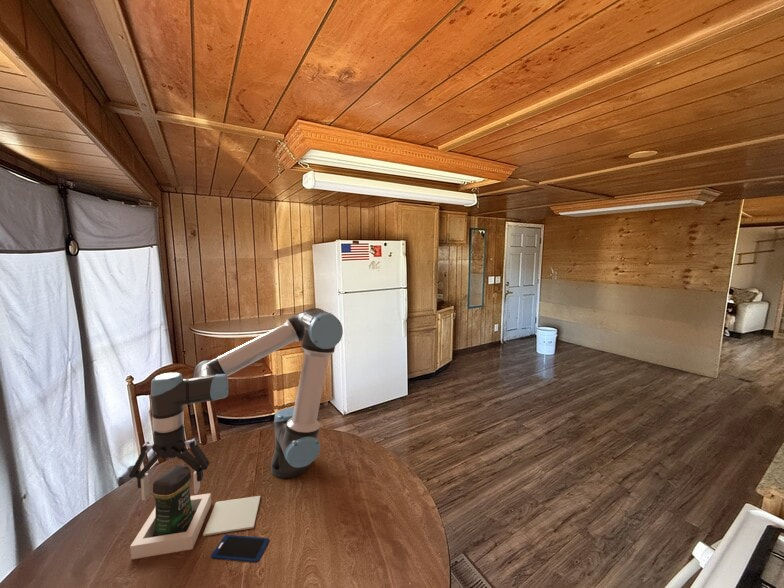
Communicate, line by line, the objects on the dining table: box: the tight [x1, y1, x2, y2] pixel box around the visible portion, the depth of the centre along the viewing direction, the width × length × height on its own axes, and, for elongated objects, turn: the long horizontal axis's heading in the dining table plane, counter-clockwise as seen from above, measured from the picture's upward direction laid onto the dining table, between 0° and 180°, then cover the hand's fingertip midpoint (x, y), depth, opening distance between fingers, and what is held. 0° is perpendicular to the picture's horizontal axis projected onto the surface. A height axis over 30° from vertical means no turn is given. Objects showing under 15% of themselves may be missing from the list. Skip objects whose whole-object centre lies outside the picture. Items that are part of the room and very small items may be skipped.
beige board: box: [202, 495, 262, 537], centre depth 103 cm, size 14×13×1 cm
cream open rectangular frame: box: [129, 492, 212, 560], centre depth 98 cm, size 15×17×4 cm
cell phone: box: [210, 534, 270, 563], centre depth 92 cm, size 7×14×1 cm, turn 86°
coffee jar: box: [152, 464, 194, 537], centre depth 97 cm, size 10×8×19 cm
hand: (171, 493), depth 96 cm, fingers open, 13 cm apart
